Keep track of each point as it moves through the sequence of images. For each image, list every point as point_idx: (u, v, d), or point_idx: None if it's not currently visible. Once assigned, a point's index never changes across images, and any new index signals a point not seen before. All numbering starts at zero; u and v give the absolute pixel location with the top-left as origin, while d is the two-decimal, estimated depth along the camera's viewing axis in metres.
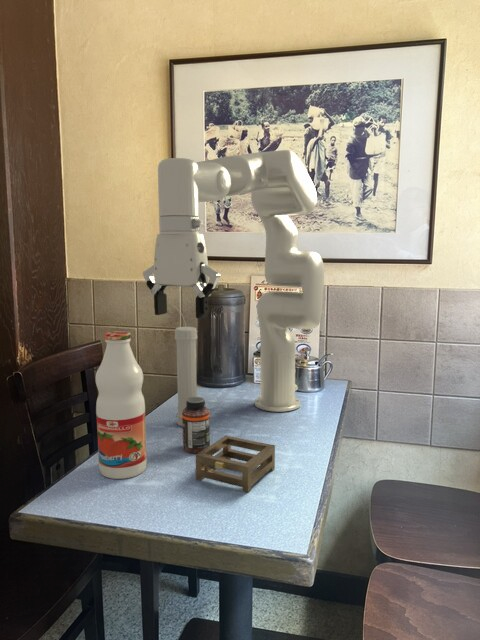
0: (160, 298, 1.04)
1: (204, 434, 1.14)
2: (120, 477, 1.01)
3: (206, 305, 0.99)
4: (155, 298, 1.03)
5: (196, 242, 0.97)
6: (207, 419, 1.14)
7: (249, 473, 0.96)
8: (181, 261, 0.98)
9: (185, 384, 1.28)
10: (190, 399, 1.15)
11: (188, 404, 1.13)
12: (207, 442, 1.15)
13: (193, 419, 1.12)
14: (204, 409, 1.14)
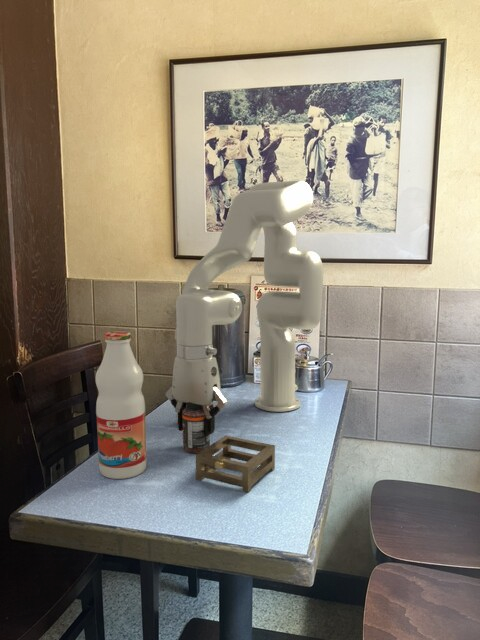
0: None
1: None
2: (120, 477, 1.01)
3: (213, 424, 1.13)
4: (179, 416, 1.16)
5: (210, 368, 1.10)
6: None
7: (249, 473, 0.96)
8: (197, 384, 1.11)
9: None
10: None
11: (188, 404, 1.13)
12: (207, 442, 1.15)
13: (193, 419, 1.12)
14: None
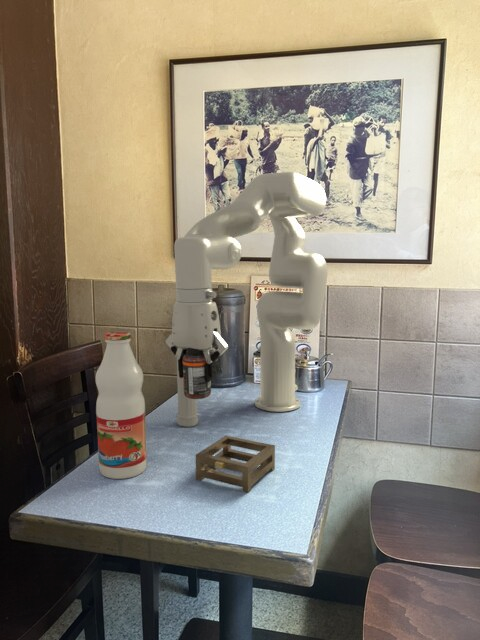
0: None
1: (204, 380, 1.12)
2: (120, 477, 1.01)
3: (214, 369, 1.12)
4: (179, 363, 1.14)
5: (210, 311, 1.09)
6: None
7: (249, 473, 0.96)
8: (197, 328, 1.09)
9: None
10: None
11: (188, 350, 1.12)
12: (208, 388, 1.13)
13: (193, 365, 1.11)
14: None
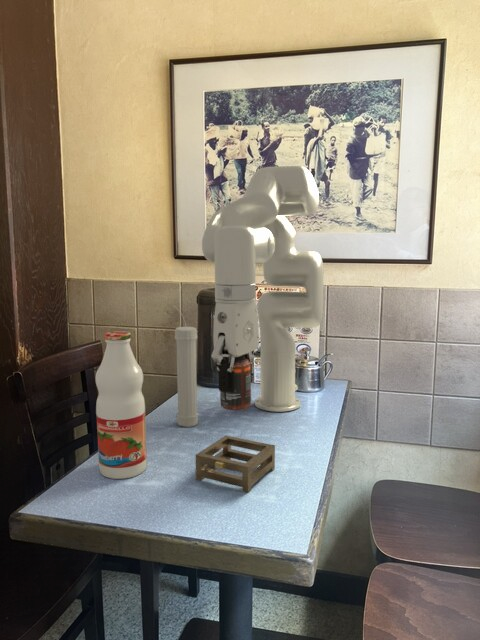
0: None
1: None
2: (120, 477, 1.01)
3: (224, 380, 0.97)
4: None
5: (217, 311, 0.95)
6: None
7: (249, 473, 0.96)
8: None
9: (185, 384, 1.28)
10: None
11: None
12: (227, 400, 0.99)
13: None
14: None
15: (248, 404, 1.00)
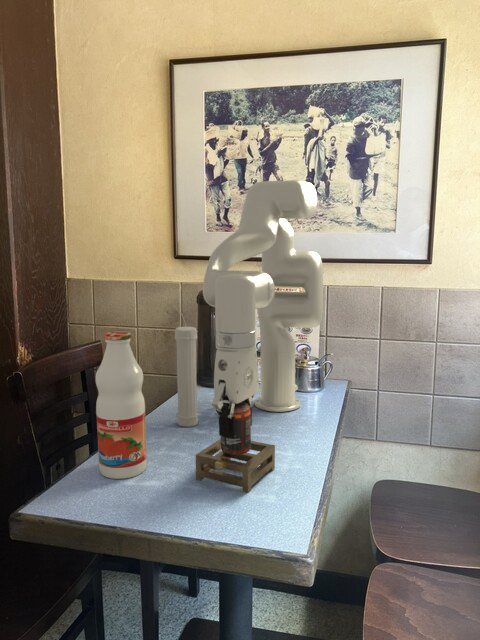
0: None
1: None
2: (120, 477, 1.01)
3: (224, 426, 0.98)
4: None
5: (218, 359, 0.97)
6: None
7: (249, 473, 0.96)
8: None
9: (185, 384, 1.28)
10: None
11: None
12: (227, 445, 1.00)
13: None
14: None
15: (248, 448, 1.01)
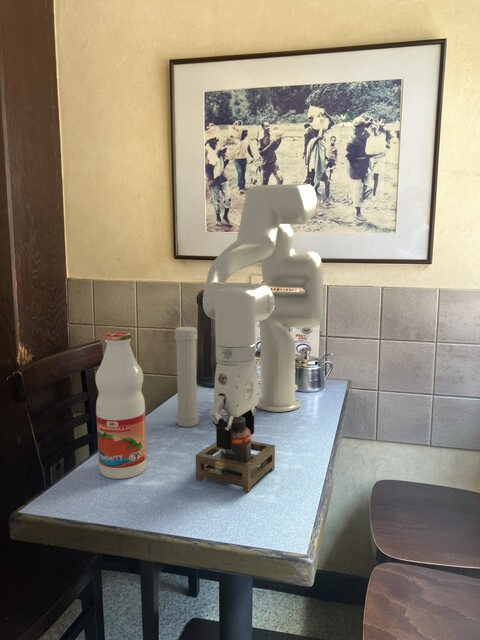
0: None
1: (224, 457, 1.01)
2: (120, 477, 1.01)
3: (222, 438, 0.98)
4: None
5: (218, 372, 0.97)
6: None
7: (249, 473, 0.96)
8: None
9: (185, 384, 1.28)
10: (235, 417, 1.03)
11: None
12: None
13: None
14: None
15: None
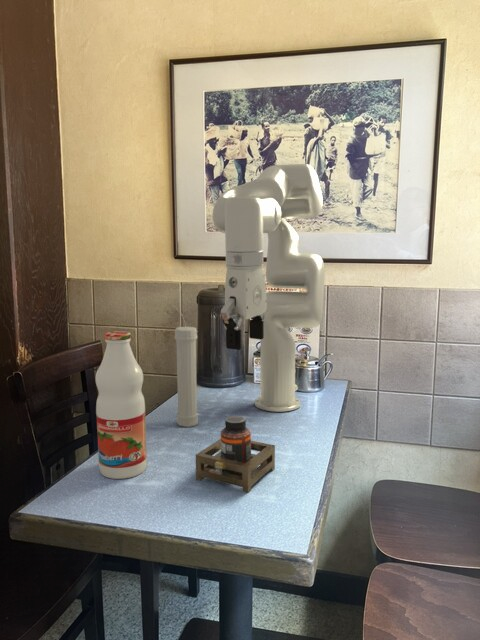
0: (253, 324, 1.12)
1: (224, 457, 1.01)
2: (120, 477, 1.01)
3: (231, 338, 1.03)
4: None
5: (228, 277, 1.02)
6: (228, 444, 1.00)
7: (249, 473, 0.96)
8: None
9: (184, 384, 1.28)
10: (235, 417, 1.03)
11: None
12: None
13: None
14: (231, 432, 1.01)
15: None
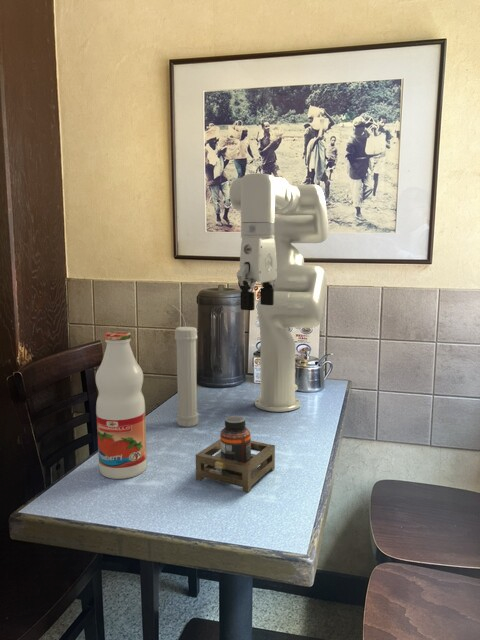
0: (264, 291, 1.24)
1: (224, 457, 1.01)
2: (120, 477, 1.01)
3: (245, 299, 1.15)
4: None
5: (243, 244, 1.14)
6: (228, 444, 1.00)
7: (249, 473, 0.96)
8: None
9: (185, 384, 1.28)
10: (235, 417, 1.03)
11: None
12: None
13: None
14: (230, 432, 1.01)
15: None
